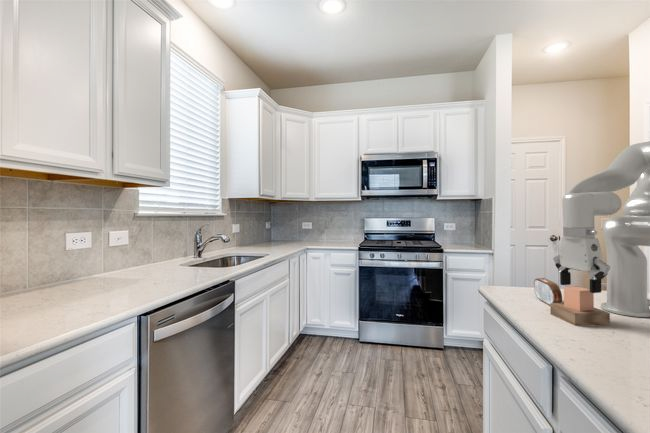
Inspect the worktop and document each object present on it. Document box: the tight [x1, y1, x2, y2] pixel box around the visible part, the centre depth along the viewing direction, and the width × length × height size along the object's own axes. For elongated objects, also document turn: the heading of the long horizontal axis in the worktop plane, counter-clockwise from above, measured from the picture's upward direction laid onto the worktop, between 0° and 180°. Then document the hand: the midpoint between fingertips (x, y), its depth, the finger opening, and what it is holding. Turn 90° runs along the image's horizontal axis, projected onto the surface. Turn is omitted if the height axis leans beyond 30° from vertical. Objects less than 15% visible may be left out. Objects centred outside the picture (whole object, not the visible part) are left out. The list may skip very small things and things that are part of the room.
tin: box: [533, 277, 563, 307], centre depth 111 cm, size 15×3×8 cm, turn 168°
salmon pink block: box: [563, 285, 595, 311], centre depth 94 cm, size 5×5×6 cm
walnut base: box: [549, 302, 611, 327], centre depth 94 cm, size 10×10×4 cm
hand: (579, 288), depth 94 cm, fingers open, 9 cm apart
